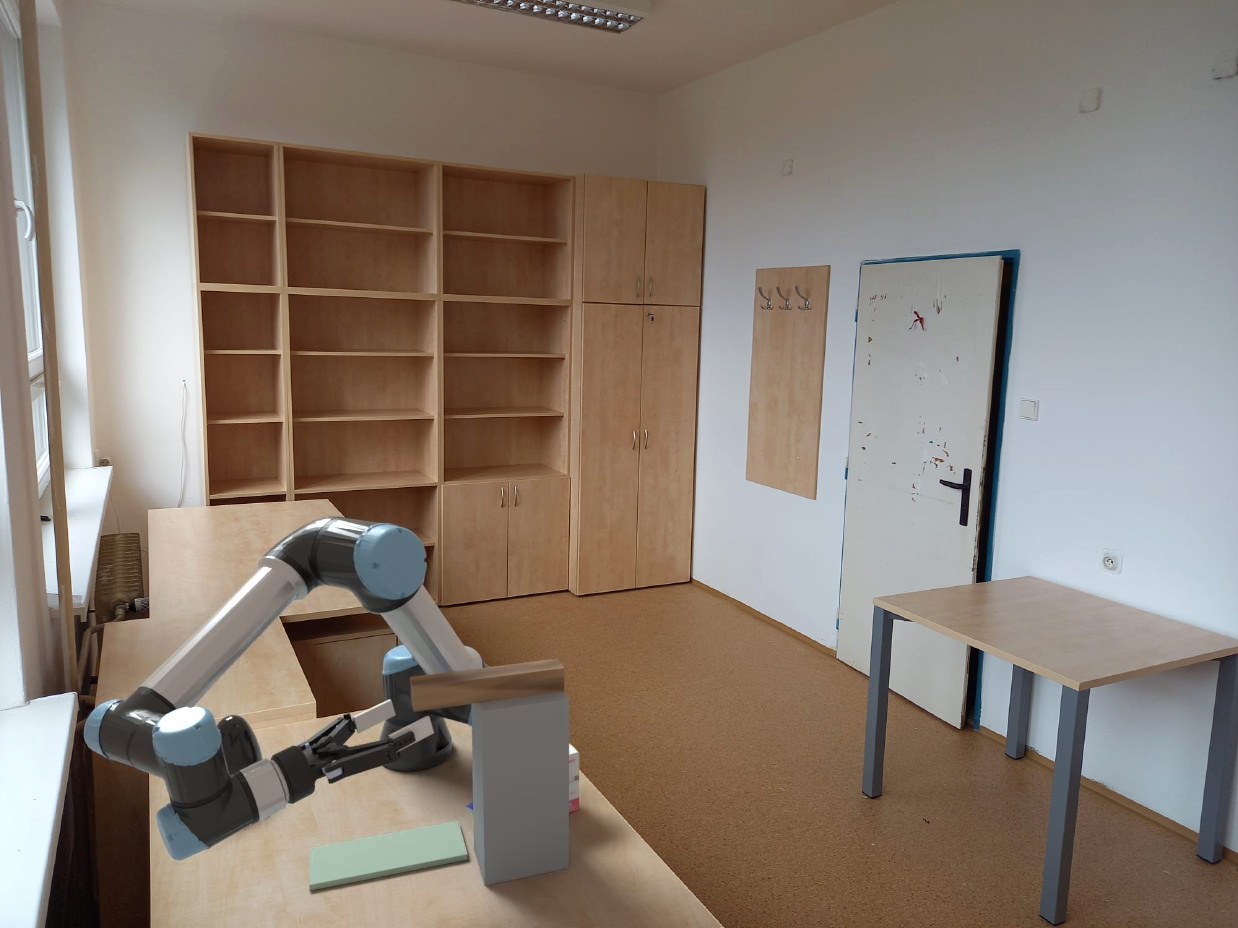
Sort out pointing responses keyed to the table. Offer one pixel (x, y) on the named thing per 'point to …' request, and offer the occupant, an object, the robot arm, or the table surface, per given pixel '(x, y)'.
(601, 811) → the table surface
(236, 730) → the pump dispenser
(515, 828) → the stand
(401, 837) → the mat
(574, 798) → the ink box
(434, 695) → the walnut bar
